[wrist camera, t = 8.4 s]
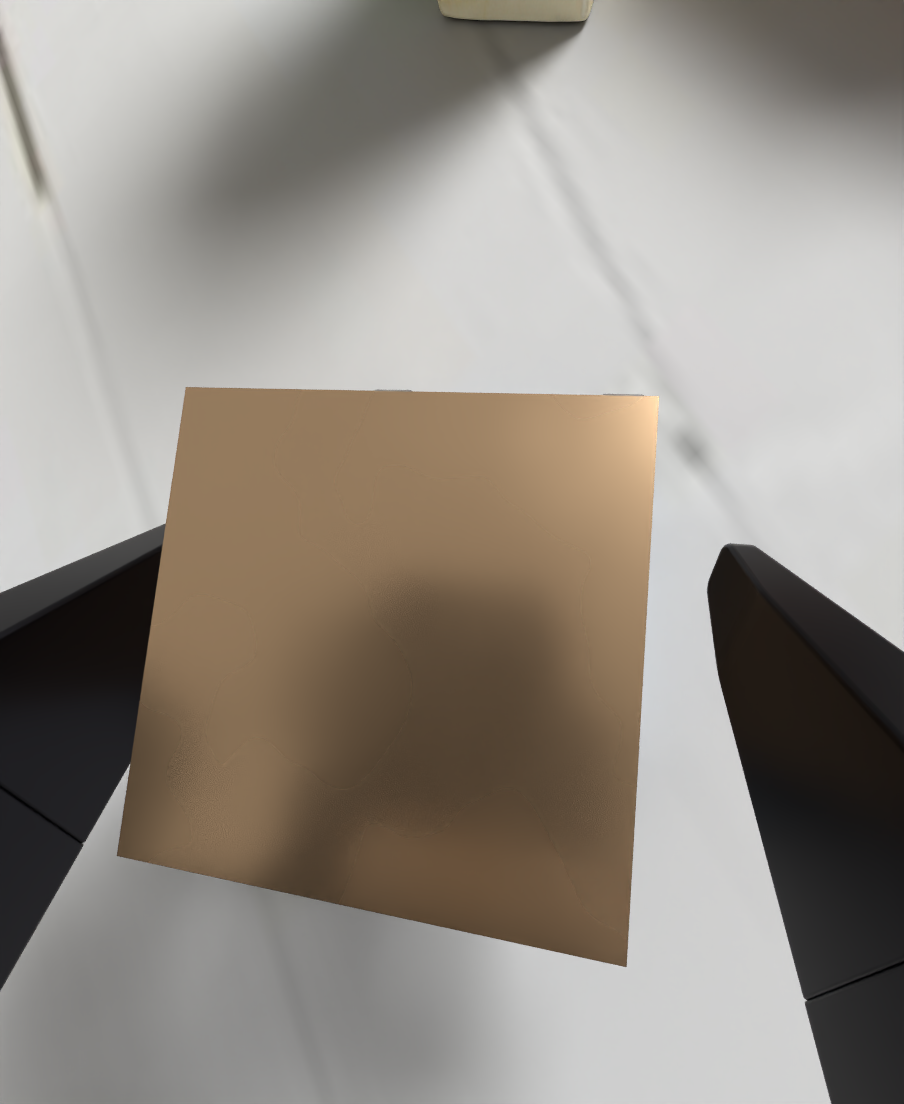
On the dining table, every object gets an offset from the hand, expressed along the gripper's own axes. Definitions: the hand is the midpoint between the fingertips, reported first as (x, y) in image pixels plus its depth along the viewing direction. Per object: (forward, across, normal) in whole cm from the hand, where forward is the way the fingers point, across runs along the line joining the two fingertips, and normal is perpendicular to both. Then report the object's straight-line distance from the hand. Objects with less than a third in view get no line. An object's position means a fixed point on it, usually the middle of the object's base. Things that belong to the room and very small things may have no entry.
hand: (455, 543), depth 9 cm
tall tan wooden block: (+5, 0, +7) cm, 8 cm away
